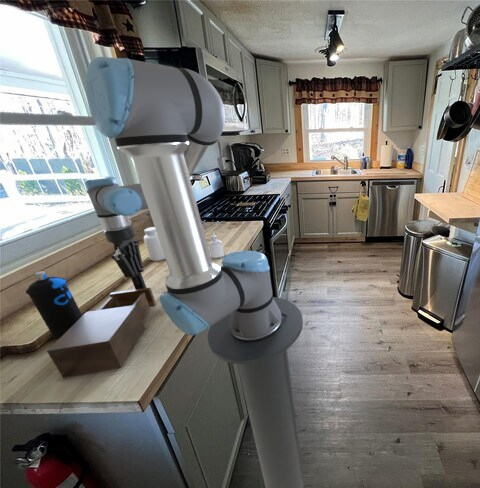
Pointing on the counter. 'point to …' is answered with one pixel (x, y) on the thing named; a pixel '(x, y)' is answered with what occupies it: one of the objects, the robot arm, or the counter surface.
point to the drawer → (131, 300)
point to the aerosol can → (54, 303)
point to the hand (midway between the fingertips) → (141, 290)
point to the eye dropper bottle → (215, 247)
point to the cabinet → (98, 341)
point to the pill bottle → (153, 244)
